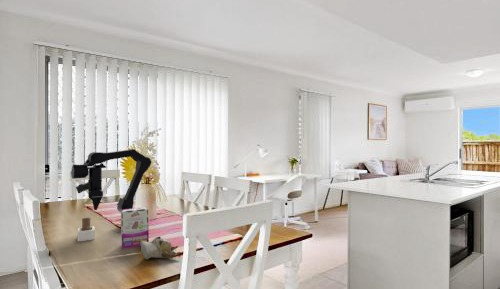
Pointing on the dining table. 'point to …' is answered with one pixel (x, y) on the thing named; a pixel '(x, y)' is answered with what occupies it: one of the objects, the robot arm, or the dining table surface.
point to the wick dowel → (85, 224)
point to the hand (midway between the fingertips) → (95, 208)
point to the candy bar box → (134, 227)
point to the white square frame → (86, 234)
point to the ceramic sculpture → (158, 249)
